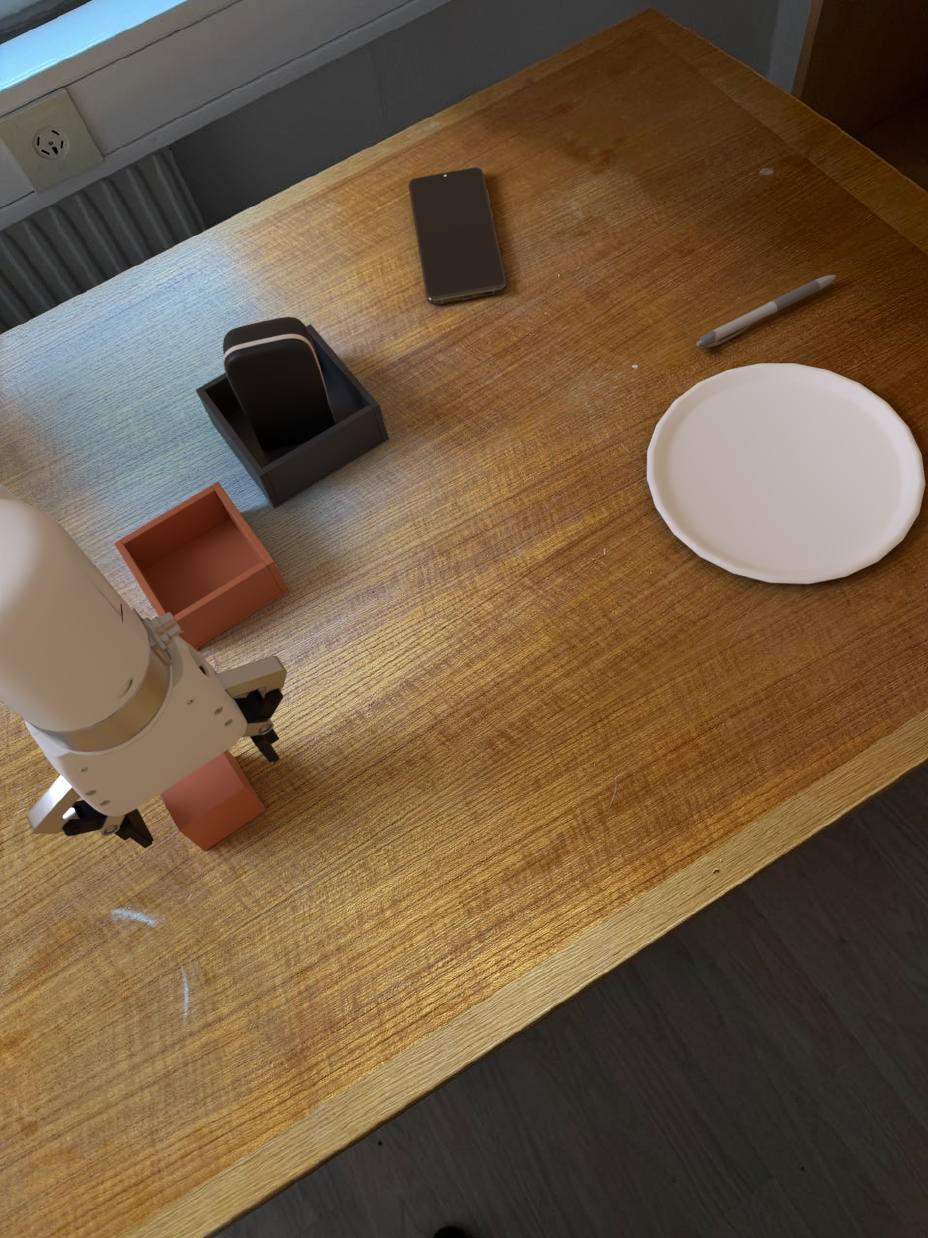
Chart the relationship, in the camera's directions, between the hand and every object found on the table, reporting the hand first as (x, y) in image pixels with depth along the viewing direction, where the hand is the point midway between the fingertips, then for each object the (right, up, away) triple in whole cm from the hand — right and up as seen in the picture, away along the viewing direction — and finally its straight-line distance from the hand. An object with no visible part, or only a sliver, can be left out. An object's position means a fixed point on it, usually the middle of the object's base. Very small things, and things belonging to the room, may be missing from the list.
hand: (204, 786), depth 69 cm
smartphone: (+17, +46, +27) cm, 56 cm away
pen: (+43, +37, +19) cm, 60 cm away
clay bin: (-3, +14, +12) cm, 19 cm away
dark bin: (+3, +27, +19) cm, 33 cm away
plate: (+42, +22, +12) cm, 49 cm away
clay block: (0, -2, +4) cm, 4 cm away
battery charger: (+3, +27, +18) cm, 33 cm away
